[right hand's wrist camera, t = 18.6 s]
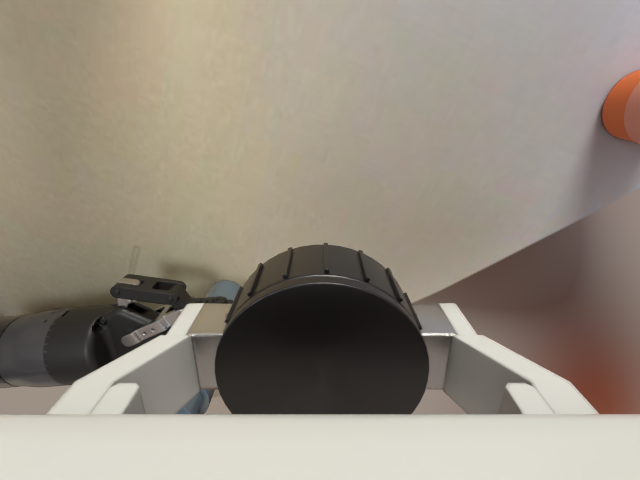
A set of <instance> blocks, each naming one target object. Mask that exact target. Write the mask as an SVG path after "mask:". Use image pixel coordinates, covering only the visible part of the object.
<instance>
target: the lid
mask: <svg viewBox="0 0 640 480" xmlns="http://www.w3.org/2000/svg"><path fill="white" fill-rule="evenodd" d="M224 322H225V323H227V325H226V327H225V329H224V332H223V334H222V336H221V339H220V341H219V344H218V347H217V350H216V356H215V377H216V383H217V387H218V389H219V392H220V395H221V397H222V399H223V401H224V403H225V405H226V406H227V407H228V409H229V410H230V412H231V413H232V414H412V413H413V411H414V410H415V408H416V407H417V406H418V404H419V402H420V401H421V399H422V396H423V394H424V392H425V389H426V386H427V382H428V376H429V356H428V351H427V347H426V344H425V342H424V339H423V337H422V334H421V332H420V330H422V329H423V328H422V326H421V324H420V322H419V319H418V317H417V315H416V313H415V311H414V309H413V306H412V304H411V302H410V300H409V298H408V296H407V293H403V291H402V289H401V288H400V286H399V284H398V283H397V281H396V280H395V278H394V277H393V275H392V272H391V270H390V269H389V268H387V269H385V268H384V267H383V266H382V265H381V264H380V263H378V262H377V261H375V260H374V259H372V258H371V257H369V256H367V255H365V254H363V251H361V250H359V251H355V250H352V249H349V248H345V247H341V246H334V245H328V243H324V245H310V246H302V247H298V248H295V249H292V247H291V248H288V251H286V252H283V253H281V254H278V255H277V256H275V257H273V258H271V259H269V260H268V261H267V262H265V263H264V264H262V263H260V264H259V265H258V267H257V270H256V271H255V272H254V273H253V274H252V275H251V276H250V278H249V279H248V280H247V282H246V283H245V285H244V287H240V288H239V290H238V292H237V294H236V297H235V299H234V301H233V303H232V306H231V308H230V310H229V312H228V315H227V317H226V319H225V321H224Z"/></svg>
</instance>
